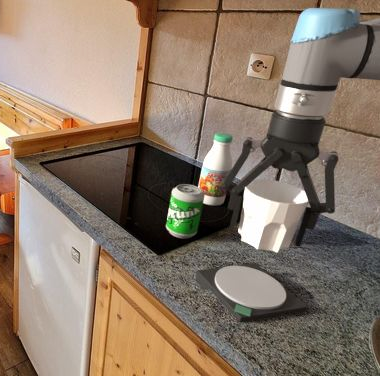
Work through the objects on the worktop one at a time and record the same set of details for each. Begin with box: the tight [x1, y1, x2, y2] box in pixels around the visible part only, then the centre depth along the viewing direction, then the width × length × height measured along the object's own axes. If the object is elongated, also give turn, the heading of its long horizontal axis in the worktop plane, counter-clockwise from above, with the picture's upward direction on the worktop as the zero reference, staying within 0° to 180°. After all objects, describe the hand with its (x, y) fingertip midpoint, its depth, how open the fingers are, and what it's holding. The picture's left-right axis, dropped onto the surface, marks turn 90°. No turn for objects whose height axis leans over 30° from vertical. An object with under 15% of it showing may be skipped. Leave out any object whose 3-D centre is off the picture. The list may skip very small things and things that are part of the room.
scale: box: [195, 262, 308, 323], centre depth 79 cm, size 14×14×3 cm
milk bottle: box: [197, 132, 233, 206], centre depth 115 cm, size 8×8×20 cm
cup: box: [237, 178, 309, 253], centre depth 72 cm, size 10×10×10 cm
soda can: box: [165, 183, 205, 239], centre depth 99 cm, size 8×8×12 cm
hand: (264, 233), depth 74 cm, fingers closed on cup, 10 cm apart
